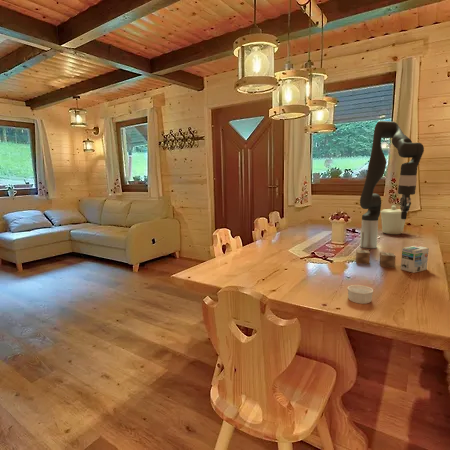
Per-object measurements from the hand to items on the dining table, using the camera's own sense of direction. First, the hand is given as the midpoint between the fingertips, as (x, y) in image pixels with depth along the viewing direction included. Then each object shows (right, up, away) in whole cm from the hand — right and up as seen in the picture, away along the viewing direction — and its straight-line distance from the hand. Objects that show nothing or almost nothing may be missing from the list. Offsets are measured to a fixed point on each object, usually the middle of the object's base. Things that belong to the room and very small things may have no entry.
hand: (403, 219), depth 157 cm
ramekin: (-40, -31, -41) cm, 65 cm away
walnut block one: (-8, -24, 0) cm, 25 cm away
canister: (+36, -10, +79) cm, 87 cm away
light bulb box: (+1, -25, -7) cm, 26 cm away
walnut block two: (-18, -23, +6) cm, 30 cm away
